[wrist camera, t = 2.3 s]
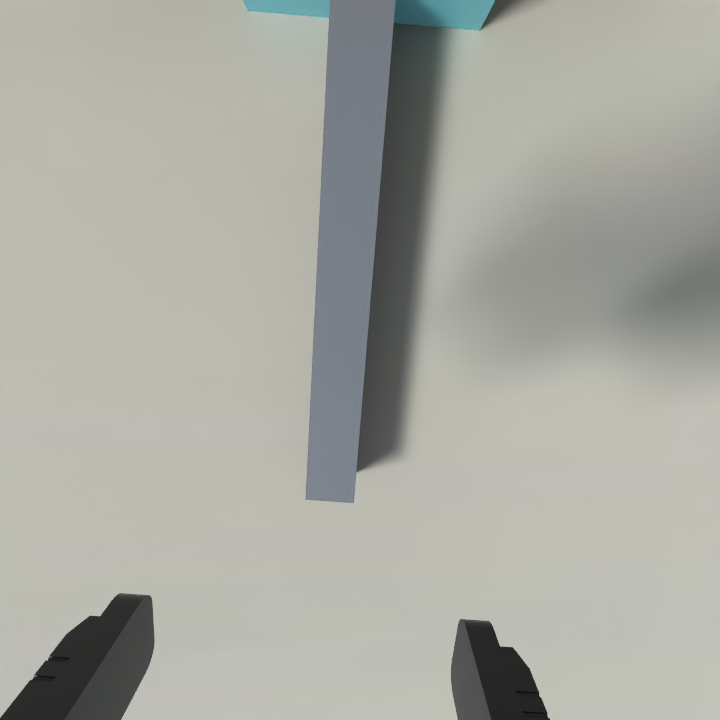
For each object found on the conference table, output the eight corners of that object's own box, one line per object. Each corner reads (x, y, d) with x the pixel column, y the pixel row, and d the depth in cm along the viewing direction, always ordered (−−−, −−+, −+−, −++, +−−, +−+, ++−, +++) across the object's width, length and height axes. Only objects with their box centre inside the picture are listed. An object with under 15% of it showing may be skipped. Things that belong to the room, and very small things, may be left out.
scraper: (249, -21, 17) (226, -77, 14) (483, -1, 17) (506, -52, 14) (246, 463, 23) (229, 493, 20) (421, 476, 23) (429, 508, 20)
